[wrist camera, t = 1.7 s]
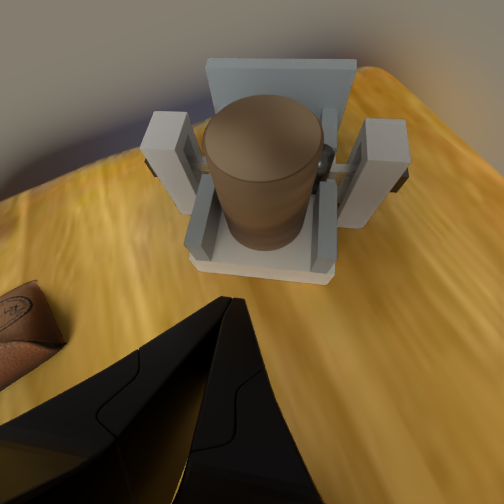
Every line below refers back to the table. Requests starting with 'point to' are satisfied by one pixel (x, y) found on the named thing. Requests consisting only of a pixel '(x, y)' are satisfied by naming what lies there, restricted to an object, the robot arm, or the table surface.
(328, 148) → the plunger
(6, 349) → the sunglasses case
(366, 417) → the table surface
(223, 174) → the peg
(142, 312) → the table surface
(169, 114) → the channel
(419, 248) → the table surface
